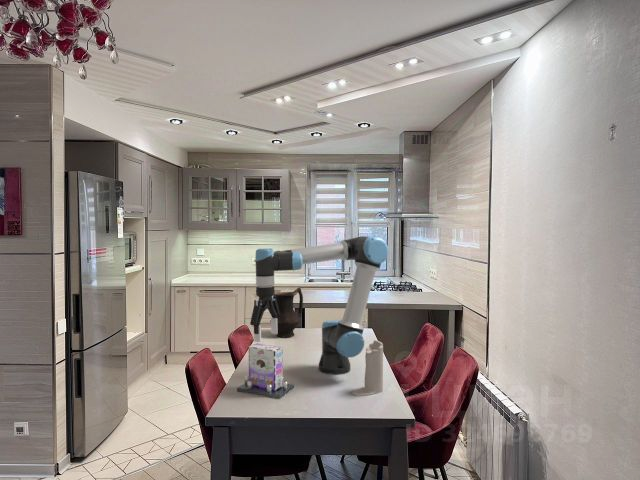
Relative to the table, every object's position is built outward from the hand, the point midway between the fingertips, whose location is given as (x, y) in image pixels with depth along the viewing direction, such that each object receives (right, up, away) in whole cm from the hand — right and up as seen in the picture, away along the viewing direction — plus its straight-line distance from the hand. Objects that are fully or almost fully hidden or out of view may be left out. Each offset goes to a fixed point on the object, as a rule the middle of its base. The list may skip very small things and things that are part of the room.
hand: (266, 337), depth 174 cm
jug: (+2, -20, +90) cm, 92 cm away
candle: (+42, -22, -2) cm, 47 cm away
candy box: (0, -20, +1) cm, 20 cm away
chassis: (0, -22, 0) cm, 22 cm away
